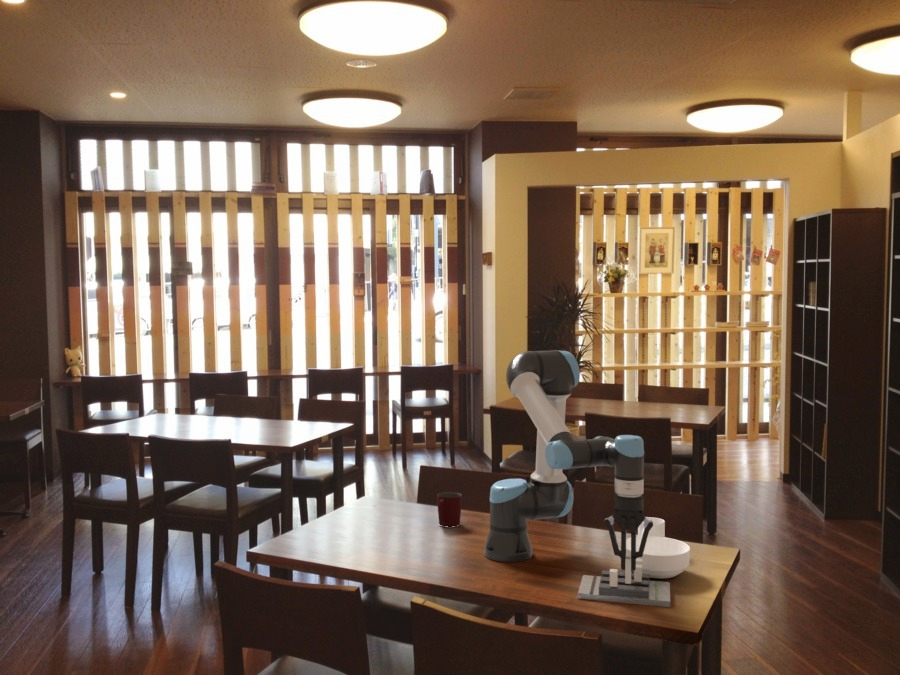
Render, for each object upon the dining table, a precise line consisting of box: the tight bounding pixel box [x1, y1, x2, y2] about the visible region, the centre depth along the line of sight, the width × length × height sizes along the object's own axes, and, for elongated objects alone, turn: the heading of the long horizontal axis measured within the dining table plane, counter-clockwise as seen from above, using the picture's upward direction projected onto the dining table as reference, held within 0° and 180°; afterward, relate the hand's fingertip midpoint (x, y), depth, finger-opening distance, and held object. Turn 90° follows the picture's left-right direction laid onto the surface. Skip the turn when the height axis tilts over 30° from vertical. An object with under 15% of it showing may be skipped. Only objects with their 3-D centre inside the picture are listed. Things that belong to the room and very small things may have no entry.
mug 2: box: [637, 516, 666, 537], centre depth 255 cm, size 12×8×10 cm
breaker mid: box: [633, 565, 642, 582], centre depth 219 cm, size 2×2×4 cm
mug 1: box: [436, 491, 463, 527], centre depth 286 cm, size 12×9×11 cm
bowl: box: [626, 535, 691, 579], centre depth 236 cm, size 20×20×8 cm
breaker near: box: [609, 568, 619, 587], centre depth 215 cm, size 2×2×4 cm
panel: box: [577, 569, 671, 608], centre depth 220 cm, size 24×15×4 cm, turn 75°
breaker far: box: [636, 558, 642, 565], centre depth 224 cm, size 2×2×4 cm
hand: (628, 581), depth 214 cm, fingers closed
